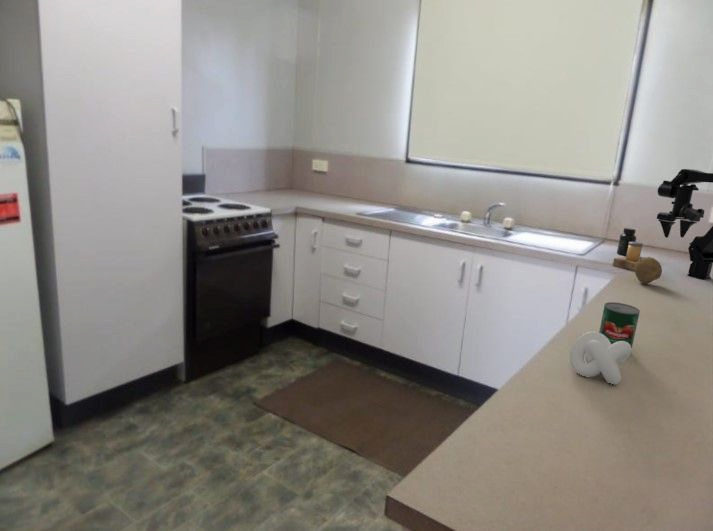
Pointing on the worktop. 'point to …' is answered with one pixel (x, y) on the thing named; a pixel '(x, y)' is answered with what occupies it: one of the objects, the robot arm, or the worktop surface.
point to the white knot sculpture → (599, 356)
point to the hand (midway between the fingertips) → (674, 237)
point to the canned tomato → (619, 322)
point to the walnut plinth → (624, 263)
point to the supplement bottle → (626, 240)
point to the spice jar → (634, 251)
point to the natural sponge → (647, 270)
